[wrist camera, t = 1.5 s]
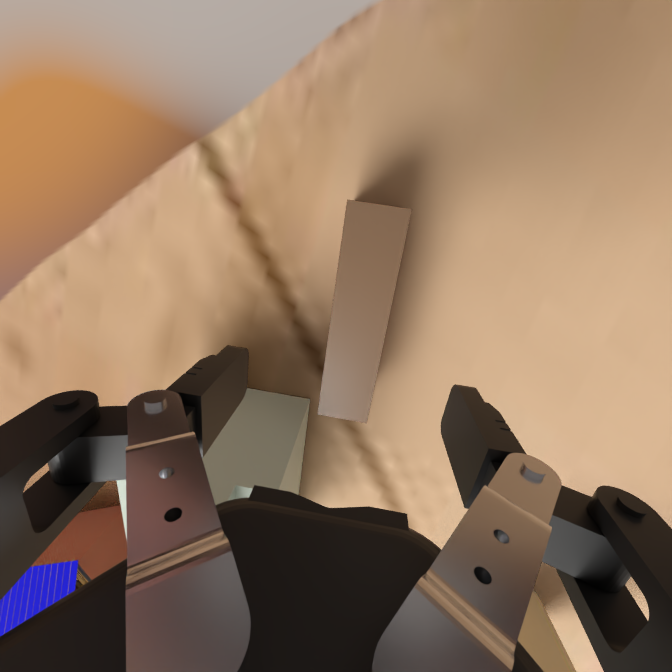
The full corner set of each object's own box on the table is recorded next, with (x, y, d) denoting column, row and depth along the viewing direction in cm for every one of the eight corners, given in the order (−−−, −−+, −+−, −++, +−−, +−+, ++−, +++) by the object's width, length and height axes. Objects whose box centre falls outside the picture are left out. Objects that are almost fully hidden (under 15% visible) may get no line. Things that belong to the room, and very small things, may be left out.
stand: (310, 399, 28) (266, 525, 16) (296, 513, 33) (256, 668, 22) (199, 379, 28) (84, 488, 17) (203, 495, 33) (117, 636, 22)
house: (0, 523, 39) (-141, 640, 29) (129, 499, 35) (21, 626, 24) (57, 586, 43) (-49, 710, 32) (180, 571, 39) (105, 709, 28)
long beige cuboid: (403, 210, 22) (411, 208, 17) (367, 387, 27) (366, 423, 22) (352, 202, 22) (347, 199, 17) (327, 379, 27) (317, 414, 22)
